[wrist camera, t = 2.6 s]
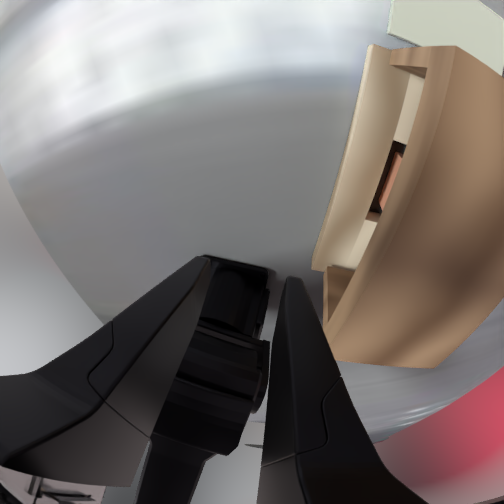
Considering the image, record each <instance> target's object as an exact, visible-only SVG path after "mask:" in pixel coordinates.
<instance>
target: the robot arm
mask: <svg viewBox="0 0 504 504" xmlns="http://www.w3.org/2000/svg"><path fill="white" fill-rule="evenodd" d="M262 274H264V275H262ZM268 274H269V273H268V271H267V270H266V269H263V268H258V267H253V266H249V265H244V264H239V263H235V262H230V261H226V260H221V259H216V258H212V257H207V256H197V257H195V258H193V259H192V260H191V261H189V262H188V263H187V264H185V265H184V266H182V267H181V268H180V269H178V270H177V271H176V272H174V273H173V274H172V275H170V276H169V277H167V278H166V279H165V280H163V281H162V282H161V283H159V284H158V285H157V286H155V287H154V288H153V289H151V290H150V291H149V292H147V293H146V294H145V295H143V296H142V297H141V298H139V299H138V300H137V301H135V302H134V303H133V304H131V305H130V306H129V307H128V308H126V309H125V310H124V311H122V312H121V313H120V314H118V315H117V316H116V317H114V318H113V319H112V321H109V322H108V323H107V324H105V325H104V326H103V327H101V328H100V329H99V330H97V331H96V332H95V333H93V334H92V335H91V336H89V337H88V338H86V339H85V340H84V341H82V342H80V343H79V344H77V345H76V346H74V347H73V348H71V349H70V350H68V351H67V352H65V353H63V354H62V355H60V356H59V357H57V358H56V359H54V360H52V361H51V362H49V363H48V364H46V365H45V366H43V367H41V368H39V369H37V370H35V371H33V372H30V373H26V374H19V375H9V376H0V504H101V502H102V499H103V495H104V493H105V489H106V486H113V487H130V486H131V484H132V481H133V479H134V476H135V474H136V471H137V468H138V466H139V463H140V461H141V458H142V456H143V453H144V451H145V448H146V446H147V443H148V441H150V445H149V449H148V453H147V456H146V459H145V463H144V467H143V470H142V473H141V478H140V481H139V484H138V488H137V492H136V496H135V500H134V503H133V504H190V502H191V499H192V496H193V494H194V491H195V489H196V486H197V483H198V481H199V478H200V475H201V473H202V470H203V467H204V465H205V462H206V461H207V460H209V459H210V458H212V457H213V456H215V455H216V454H221V455H225V456H227V455H229V454H230V453H231V452H232V451H233V450H234V449H236V447H237V446H238V444H239V441H240V438H241V435H242V432H243V429H244V427H245V425H246V422H247V420H248V417H249V415H250V413H252V414H254V413H256V412H257V411H258V409H259V408H260V406H261V404H262V401H263V399H264V396H265V393H266V389H267V385H268V378H269V388H268V400H267V411H266V422H265V432H264V442H263V452H262V461H261V471H260V479H259V488H258V496H257V504H429V503H427V502H426V501H424V500H423V499H422V498H421V497H419V496H418V495H417V494H416V493H414V492H413V491H412V490H410V489H409V488H408V487H407V486H406V485H404V484H403V483H402V482H401V481H399V480H398V479H397V478H396V477H395V476H393V475H392V474H391V473H390V472H389V470H388V469H387V468H386V467H385V465H384V464H383V462H382V461H381V459H380V457H379V455H378V453H377V452H376V449H375V447H374V445H373V443H372V441H371V439H370V437H369V435H368V434H367V432H366V430H365V428H364V426H363V424H362V422H361V420H360V418H359V416H358V414H357V412H356V410H355V408H354V406H353V403H352V401H351V398H350V396H349V394H348V391H347V389H346V386H345V384H344V381H343V378H342V377H340V376H341V373H340V371H339V368H338V366H337V363H336V361H335V358H334V356H333V353H332V351H331V348H330V346H329V343H328V341H327V338H326V336H325V333H324V331H323V328H322V326H321V324H320V321H319V319H318V316H317V314H316V312H315V309H314V307H313V305H312V302H311V300H310V297H309V295H308V293H307V290H306V288H305V286H304V283H303V281H302V279H301V278H297V277H293V276H288V277H287V279H286V283H285V286H284V289H283V293H282V296H281V301H280V306H279V311H278V316H277V321H276V326H275V331H274V336H273V342H272V350H271V363H270V376H269V354H270V342H269V341H266V340H259V339H260V335H261V332H262V328H263V324H264V319H265V314H266V309H267V304H268V299H269V294H270V291H269V290H268V289H265V288H266V283H267V279H268ZM475 504H504V496H501V497H498V498H495V499H491V500H487V501H483V502H480V503H475Z"/></svg>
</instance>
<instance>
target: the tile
mask: <svg viewBox="0 0 504 504" xmlns="http://www.w3.org/2000/svg"><path fill="white" fill-rule="evenodd" d="M387 34H389V35H391V36H394V37H397V38H399V39H402V40H404V41H407V42H409V43H411V44H414V45H416V46H418V47H424V46H458V47H459V48H461V49H463V50H464V51H466V52H467V53H469V54H471V55H472V56H474V57H475V58H477V59H478V60H480V61H481V62H483V63H484V64H486V65H487V66H488V67H490V68H491V69H493V70H494V71H495V72H497V73H498V74H499V75H501V76H502V73H503V66H504V19H503V18H501V17H500V16H499V15H497V14H496V13H495V12H494V11H492V10H491V9H490V8H488V7H487V6H485V5H484V4H483V3H481V2H480V1H478V0H391V8H390V15H389V21H388V28H387Z"/></svg>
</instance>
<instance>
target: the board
mask: <svg viewBox="0 0 504 504" xmlns="http://www.w3.org/2000/svg"><path fill="white" fill-rule="evenodd" d="M391 53H392V50H389V49H386V48H384V47H381V46H378V45H375V44H372V45H369V46H368V50H367V55H366V60H365V65H364V70H363V75H362V80H361V84H360V89H359V93H358V98H357V102H356V106H355V111H354V115H353V119H352V123H351V127H350V131H349V135H348V139H347V143H346V146H345V150H344V154H343V158H342V161H341V165H340V168H339V172H338V176H337V179H336V182H335V186H334V189H333V193H332V196H331V199H330V203H329V206H328V209H327V212H326V216H325V219H324V222H323V225H322V228H321V231H320V234H319V237H318V241H317V244H316V247H315V250H314V252H313V255H312V270H317V271H322V272H325V270H326V268H327V266H329V267H333V268H338V269H343V270H347V271H352V272H355V271H356V269H357V267H358V264H359V262H360V260H361V258H362V256H363V254H364V252H365V250H366V248H367V245H368V243H369V241H370V239H371V236H372V234H373V232H374V230H375V227H376V225H377V223H378V220H379V218H380V216H381V214H379V213H376V212H372V211H369V208H370V205H371V203H372V200H373V197H374V195H375V192H376V189H377V187H378V184H379V181H380V178H381V175H382V172H383V169H384V166H385V164H386V160H387V157H388V154H389V151H390V148H391V145H392V142H393V140H395V141H398V142H400V143H403V144H406V145H407V143H408V139H409V136H410V133H411V130H412V126H413V123H414V120H415V116H416V113H417V109H418V105H419V101H420V98H421V94H422V89H423V85H424V81H425V79H423V78H421V77H418V76H416V75H414V74H411V73H409V72H407V71H404V70H402V69H399V68H397V67H394V66H391V65H389V63H390V58H391Z"/></svg>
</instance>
